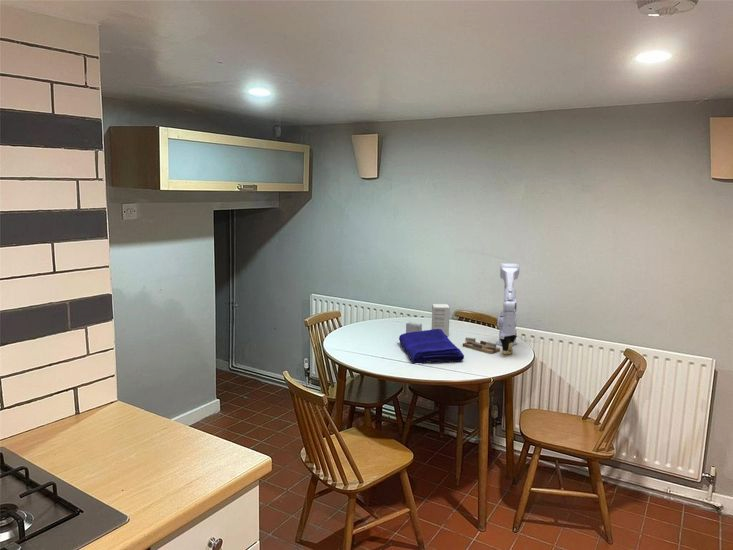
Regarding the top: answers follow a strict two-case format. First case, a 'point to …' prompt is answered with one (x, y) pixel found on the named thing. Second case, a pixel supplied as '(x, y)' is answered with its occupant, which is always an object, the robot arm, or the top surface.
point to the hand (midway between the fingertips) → (507, 349)
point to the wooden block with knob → (508, 349)
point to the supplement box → (441, 317)
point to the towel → (430, 346)
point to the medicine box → (413, 327)
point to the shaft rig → (481, 345)
